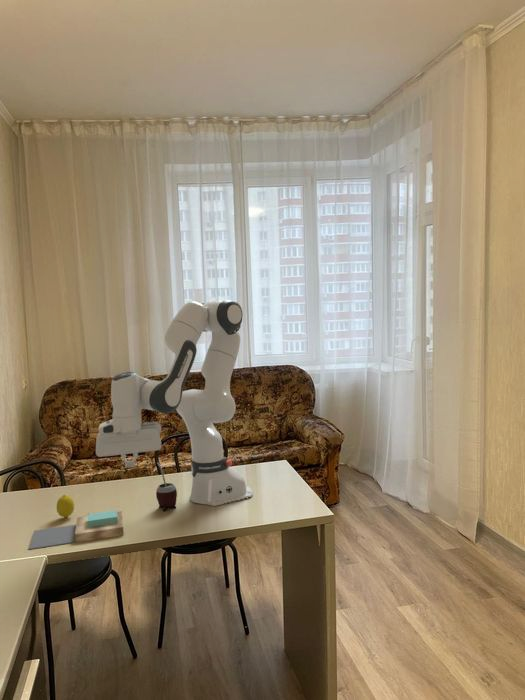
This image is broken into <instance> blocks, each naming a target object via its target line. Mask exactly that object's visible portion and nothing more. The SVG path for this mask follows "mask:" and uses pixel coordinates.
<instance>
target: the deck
mask: <svg viewBox="0 0 525 700" xmlns="http://www.w3.org/2000/svg"><path fill="white" fill-rule="evenodd" d="M87 517H88V515H86V516H78V517H77V518H76V523H75V524H76V530H75V543H81V542H88V541H94V540H99V539H100V540H101V539H105V538H106V539H107V538H113V537H119V536H124V535H125V532H124V531H125V530H124V522H123V512H122V510H120V511H119V510H118V511H117V518H118V523H114V524H108V525H101V526H94V527H88V526H87Z"/></svg>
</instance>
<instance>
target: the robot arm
mask: <svg viewBox="0 0 525 700" xmlns="http://www.w3.org/2000/svg"><path fill="white" fill-rule="evenodd" d="M242 322H243V309H242V306H241V305H240V304H239V303H238V302H237V301H235V300H230V299H225V300H213V301H209V302H204V303H203V302H202V303H200V302H197V301H189V302H186V303H185V304H184V305H183V306H182V307H181V308H180V310H179V311H178V312H177V313H176V315H175V316H174V318H173V319H172V321H171V322H170V324H169V325H168V327H167V328H166V329H167V330H166V332H165V335H164V341H165V344H166V346H167V348H168V349H169V350H170V351H171V352H172V353H173V354H174V360H173V363H172V365H171V366H170V369H169V371H168V374H167V376H166V377H165V378H164V379H162V380H154V379H149V378H145V377H142V376H140V375H139V374H137V373H136V372H135V371H126V372H121V373H118V374H116V375H115V376H114V377H112V380H111V386H110V387H111V388H110V398H111V399H110V400H111V405H112V408H113V409H112V415H111V416H112V419H109V420H107V421H105V422H101V423H100V424H99V426H98V434H97V436H96V442H95V456H97V457H99V458H102V457H110V456H119V455H120V456H121V459H122V461H123V462H124V465H125V466H124V467H125V468H126V469H127V468H136V464H135V463H136V460H137V458H138V457H139V453H146V452H147V453H148V452H154V451H160V450H161V449H162V440H161V436H160V434H161V433H162V425H161V423H159V422H157V420H155V421H154V420H153V421H152V420H151V421H144V422H142V410H143V409H144V410H148V411H155V412H158V413H161V414H167V415H168V414H171V413H173V412H174V411H176V413H177V414H178V415H179V416H181V417H180V418H182V420H183V421H184V424H185V426H186V429H187V432H188V435H189V439H190V445H191V448H190V449H191V459H190V460H191V461H190V462H191V463H190V470H191V471H190V472H191V476H192V484H191V491H190V492H191V493H190V496H189V501H191V502H192V503H196V504H200V505H208V506H214V507H216V506H219V505H223V504H224V503H225V504H228V503H227V502H229V503H232V502H231V501H234V502H236V501H235V500H238V501H241V500H240V499H243V500H245V499H244V498H247V497H251V496H253V495H252V494H253V491H252V489H251V488H250V487H249V486H248V485H246V481H245V479H244V476H242V474H241V473H239V472H238V471H236V470H235V469H233V468H232V466H233V461H232V460H231V459H229V458H228V457H226V456H224V453H223V452H224V450H223V447H224V446H223V438H222V435H221V433H220V432H219V431H218V430H217V429H216V427H215V425H214V424H218V423H225V422H226V423H227V422H230V420H232V419H233V417H234V416H235V413H236V406H237V405H236V402H235V399H234V397H233V396H232V393H231V378H232V375H233V371H234V368H235V364H236V362H237V358H238V355H239V350H240V343H241V336H240V334H239V331H240V329H241V327H242V326H241V325H242ZM203 332H205V333H207V332H211V341H210V344H209V345H208V346H209V347H208V349H207V352H206V354H205V357H204V361H203V363H202V366H201V369H200V372H201V375H202V377H203V378H204V380H205V383H204V384H205V385H204V389H197V388H192V389H187V390H184V387H185V385H186V383H187V380H188V377H189V375H190V372H191V369H192V368H193V364H194V362H195V359H196V355H197V350H198V349H197V344H198V341H199V340H200V338H201V336H202V334H203ZM128 454H132V456H133V458H132V459H131V460H127V455H128ZM251 498H252V497H251ZM247 499H248V498H247Z"/></svg>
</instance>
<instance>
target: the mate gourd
mask: <svg viewBox="0 0 525 700" xmlns="http://www.w3.org/2000/svg"><path fill="white" fill-rule="evenodd" d="M156 464H157V465H158V467H159V469H160V473H161V475H162V480H163V483H161V484H159V485H158V486H157V489H156V494H155V495H156V500H157V502H158V509H163V510H162V512H166V511H168V510H169V509H173V510H174V509H177V506H176V505H177V499H178V491H177V488H176V486H175V484H174V483H171V482H167V483H166V479H165V473H164V470H163V468H162V466H161V465H160V463H159V462H158V461H157V462H156Z"/></svg>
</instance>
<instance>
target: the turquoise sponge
mask: <svg viewBox="0 0 525 700" xmlns="http://www.w3.org/2000/svg"><path fill="white" fill-rule="evenodd" d="M117 512H118V510H117V509H115V510H108V511H102V512H95V513H87V516H88V517H87V526H88V527H94V526H101V525H108V524H114V523H118V518H117Z"/></svg>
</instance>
